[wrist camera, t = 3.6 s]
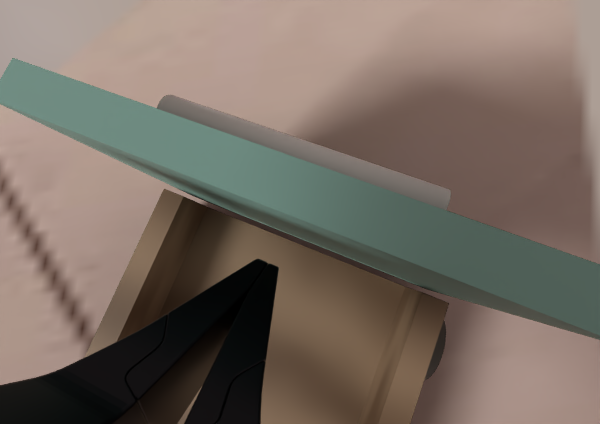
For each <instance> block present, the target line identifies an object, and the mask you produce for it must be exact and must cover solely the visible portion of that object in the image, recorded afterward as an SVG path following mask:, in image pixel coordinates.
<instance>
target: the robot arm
mask: <svg viewBox="0 0 600 424" xmlns="http://www.w3.org/2000/svg"><path fill="white" fill-rule="evenodd" d="M278 272H279V267H278V266H275V265H273V264H271V263H269V264H268V263H267V262H266V261H263V260H261V259H255V260H254V261H252V262H250V263H249V264H247V265H245V266H244V267H242V268H240V269H239V270H237V271H236V272H234V273H232V274H231V275H229V276H227V277H226V278H224V279H223V280H221V281H219V282H218V283H216V284H214V285H213V286H211V287H209V288H208V289H206V290H205V291H203V292H201V293H200V294H198V295H196V296H195V297H193V298H192V299H190V300H188V301H187V302H185V303H183V304H182V305H180V306H179V307H177V308H175V309H174V310H172V311H170V312H169V313H168V315H167V314H165V315H164V316H162V317H160V318H159V319H157V320H156V321H154V322H152V323H150V324H149V325H147V326H145V327H144V328H142V329H140V330H138V331H137V332H135V333H133V334H131V335H129V336H127V337H125V338H123V339H121V340H119V341H117V342H115V343H113V344H111V345H109V346H107V347H105V348H103V349H101V350H99V351H97V352H95V353H93V354H91V355H89V356H87V357H85V358H83V359H81V360H79V361H77V362H75V363H73V364H71V365H69V366H66V367H64V368H62V369H60V370H57V371H55V372H52V373H49V374H46V375H43V376H39V377H36V378H31V379H27V380H22V381H18V382H13V383H8V384H4V385H0V424H178V422H179V421H180V419H181V417H182V416H183V414H184V413H185V411H186V410H187V408H188V407H189V405H190V404H191V402H192V401H193V399H194V398H195V396H196V395H197V393H198V391H199V390H200V388H201V387H202V388H201V390H200V392H199V394H198V396H197V398H196V400H195V402H194V404H193V406H192V408H191V410H190V412H189V414H188V416H187V418H186V420H185V422H184V424H261V403H262V389H263V380H264V372H265V365H266V357H267V350H268V343H269V336H270V329H271V321H272V314H273V307H274V300H275V293H276V286H277V279H278Z"/></svg>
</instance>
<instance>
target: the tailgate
mask: <svg viewBox="0 0 600 424" xmlns="http://www.w3.org/2000/svg"><path fill="white" fill-rule="evenodd" d="M0 104H1V105H3V106H5V107H7V108H10V109H12V110H14V111H16V112H18V113H20V114H22V115H24V116H26V117H28V118H31V119H33V120H35V121H37V122H39V123H41V124H43V125H45V126H47V127H49V128H52V129H54V130H56V131H58V132H60V133H62V134H64V135H66V136H68V137H70V138H73V139H75V140H77V141H79V142H81V143H83V144H85V145H87V146H89V147H91V148H94V149H96V150H98V151H100V152H102V153H104V154H106V155H108V156H110V157H112V158H114V159H117V160H119V161H121V162H123V163H125V164H127V165H129V166H131V167H133V168H135V169H138V170H140V171H142V172H144V173H146V174H148V175H150V176H152V177H154V178H156V179H159V180H161V181H163V182H165V183H167V184H169V185H171V186H173V187H175V188H177V189H180V190H182V191H184V192H186V193H188V194H190V195H192V196H194V197H197V198H199V199H202V200H204V201H207V202H209V203H212V204H214V205H217V206H219V207H222V208H224V209H227V210H229V211H232V212H234V213H237V214H239V215H242V216H244V217H247V218H250V219H252V220H255V221H257V222H260V223H262V224H265V225H267V226H270V227H272V228H275V229H277V230H280V231H282V232H285V233H287V234H290V235H292V236H295V237H297V238H300V239H302V240H305V241H307V242H310V243H312V244H315V245H317V246H320V247H322V248H325V249H327V250H330V251H332V252H335V253H337V254H340V255H342V256H345V257H347V258H350V259H352V260H355V261H357V262H360V263H362V264H365V265H367V266H370V267H372V268H375V269H377V270H380V271H382V272H385V273H387V274H390V275H392V276H395V277H397V278H400V279H402V280H405V281H407V282H410V283H412V284H415V285H417V286H420V287H422V288H425V289H428V290H431V291H434V292H438V293H441V294H445V295H448V296H452V297H455V298H458V299H462V300H465V301H469V302H472V303H475V304H479V305H482V306H486V307H489V308H493V309H496V310H499V311H503V312H506V313H510V314H513V315H517V316H520V317H523V318H527V319H530V320H534V321H537V322H541V323H544V324H547V325H551V326H554V327H558V328H561V329H565V330H568V331H571V332H575V333H578V334H582V335H585V336H589V337H592V338H595V339H599V340H600V264H597V263H594V262H591V261H588V260H586V259H583V258H580V257H577V256H574V255H571V254H569V253H566V252H563V251H560V250H557V249H554V248H551V247H549V246H546V245H543V244H540V243H537V242H534V241H532V240H529V239H526V238H523V237H520V236H517V235H515V234H512V233H509V232H506V231H503V230H500V229H498V228H495V227H492V226H489V225H486V224H483V223H480V222H478V221H475V220H472V219H469V218H466V217H463V216H461V215H458V214H455V213H452V212H449V211H446V210H447V207H448V204H449V201H450V197H451V191H450V189H447V188H444V187H441V186H438V185H435V184H432V183H429V182H426V181H423V180H421V179H418V178H415V177H412V176H409V175H406V174H403V173H400V172H397V171H394V170H391V169H388V168H385V167H382V166H379V165H376V164H373V163H371V162H368V161H365V160H362V159H359V158H356V157H353V156H350V155H347V154H344V153H341V152H338V151H335V150H332V149H329V148H326V147H323V146H321V145H318V144H315V143H312V142H309V141H306V140H303V139H300V138H297V137H294V136H291V135H288V134H285V133H282V132H279V131H276V130H273V129H271V128H268V127H265V126H262V125H259V124H256V123H253V122H250V121H247V120H244V119H241V118H238V117H235V116H232V115H229V114H226V113H223V112H221V111H218V110H215V109H212V108H209V107H206V106H203V105H200V104H197V103H194V102H191V101H188V100H185V99H182V98H179V97H176V96H174V95H166V96H164V97H163V98H162V99H161V101H160V102H159V104H158V107H157V108H154V107H151V106H148V105H145V104H143V103H140V102H137V101H134V100H131V99H128V98H125V97H123V96H120V95H117V94H114V93H111V92H108V91H106V90H103V89H100V88H97V87H94V86H91V85H89V84H86V83H83V82H80V81H77V80H74V79H72V78H69V77H66V76H63V75H60V74H57V73H54V72H52V71H49V70H45V69H43V68H40V67H37V66H35V65H32V64H29V63H26V62H23V61H20V60H18V59H15V58H12V60H11V62H10V63H9V65H8V67H7V69H6V70H5V72H4V74H3V76H2V77H1V79H0Z"/></svg>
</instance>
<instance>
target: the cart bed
mask: <svg viewBox="0 0 600 424" xmlns="http://www.w3.org/2000/svg"><path fill="white" fill-rule="evenodd" d="M255 259H261V260H263V261H266V262H267V263H268V264H269V263H271V264H273V265H275V266H278V267H279V272H278V279H277V286H276V293H275V300H274V307H273V314H272V321H271V329H270V336H269V343H268V350H267V357H266V365H265V372H264V380H263V389H262V403H261V424H410V422H411V419H412V416H413V413H414V410H415V407H416V404H417V401H418V398H419V395H420V391H421V388H422V385H423V382H424V380H426V379H428V378H429V377H431V376H432V374H433V373H434V372H435V370H436V369H437V367H438V365H439V362H440V360H441V357H442V354H443V350H444V346H445V338H446V327H445V321H444V317H445V314H446V311H447V308H448V305H449V303H447V302H445V301H442V300H440V299H437V298H435V297H432V296H430V295H427V294H425V293H422V292H419V291H416V290H414V289H411V288H408V287H405V286H402V285H400V284H397V283H395V282H392V281H390V280H387V279H385V278H382V277H380V276H377V275H375V274H373V273H370V272H368V271H365V270H363V269H360V268H358V267H355V266H353V265H350V264H348V263H345V262H343V261H340V260H338V259H335V258H333V257H330V256H328V255H325V254H323V253H320V252H318V251H315V250H313V249H310V248H308V247H305V246H303V245H300V244H298V243H295V242H293V241H291V240H288V239H286V238H283V237H281V236H278V235H276V234H273V233H271V232H268V231H266V230H263V229H261V228H258V227H256V226H253V225H251V224H248V223H246V222H243V221H241V220H238V219H236V218H233V217H231V216H228V215H226V214H223V213H221V212H218V211H216V210H213V209H211V208H208V207H206V206H204V205H202V204H199V203H197V202H195V201H193V200H190V199H188V198H186V197H183V196H181V195H179V194H176V193H174V192H171V191H169V190H166V189H164V190H163V192H162V194H161V196H160V198H159V201H158V203H157V205H156V207H155V209H154V211H153V213H152V215H151V218H150V220H149V222H148V224H147V226H146V228H145V230H144V232H143V234H142V237H141V239H140V241H139V243H138V245H137V247H136V249H135V251H134V254H133V256H132V258H131V260H130V262H129V264H128V266H127V268H126V271H125V273H124V275H123V277H122V279H121V281H120V283H119V285H118V287H117V290H116V292H115V294H114V296H113V298H112V300H111V302H110V304H109V307H108V309H107V311H106V313H105V315H104V317H103V319H102V321H101V324H100V326H99V328H98V330H97V332H96V334H95V336H94V338H93V340H92V343H91V345H90V347H89V349H88V351H87V353H86V355H85V357H87V356H89V355H91V354H93V353H95V352H97V351H99V350H101V349H103V348H105V347H107V346H109V345H111V344H113V343H115V342H117V341H119V340H121V339H123V338H125V337H127V336H129V335H131V334H133V333H135V332H137V331H138V330H140V329H142V328H144V327H145V326H147V325H149V324H150V323H152V322H154V321H156V320H157V319H159V318H160V317H162V316H164V315H165V314H167V315H168V313H169V312H170V311H172V310H174V309H175V308H177V307H179V306H180V305H182V304H183V303H185V302H187V301H188V300H190V299H192V298H193V297H195V296H196V295H198V294H200V293H201V292H203V291H205V290H206V289H208V288H209V287H211V286H213V285H214V284H216V283H218V282H219V281H221V280H223V279H224V278H226V277H227V276H229V275H231V274H232V273H234V272H236V271H237V270H239V269H240V268H242V267H244V266H245V265H247V264H249V263H250V262H252V261H254V260H255ZM85 357H84V358H85ZM201 388H202V387H201ZM201 388H200V390H201ZM200 390H199V391H198V393H197V395H196V396H195V398H194V399H193V401H192V402H191V404H190V405H189V407H188V408H187V410H186V411H185V413H184V414H183V416H182V417H181V419H180V421H179V422H178V424H184V422H185V420H186V418H187V416H188V414H189V412H190V410H191V408H192V406H193V404H194V402H195V400H196V398H197V396H198V394H199V392H200Z"/></svg>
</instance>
